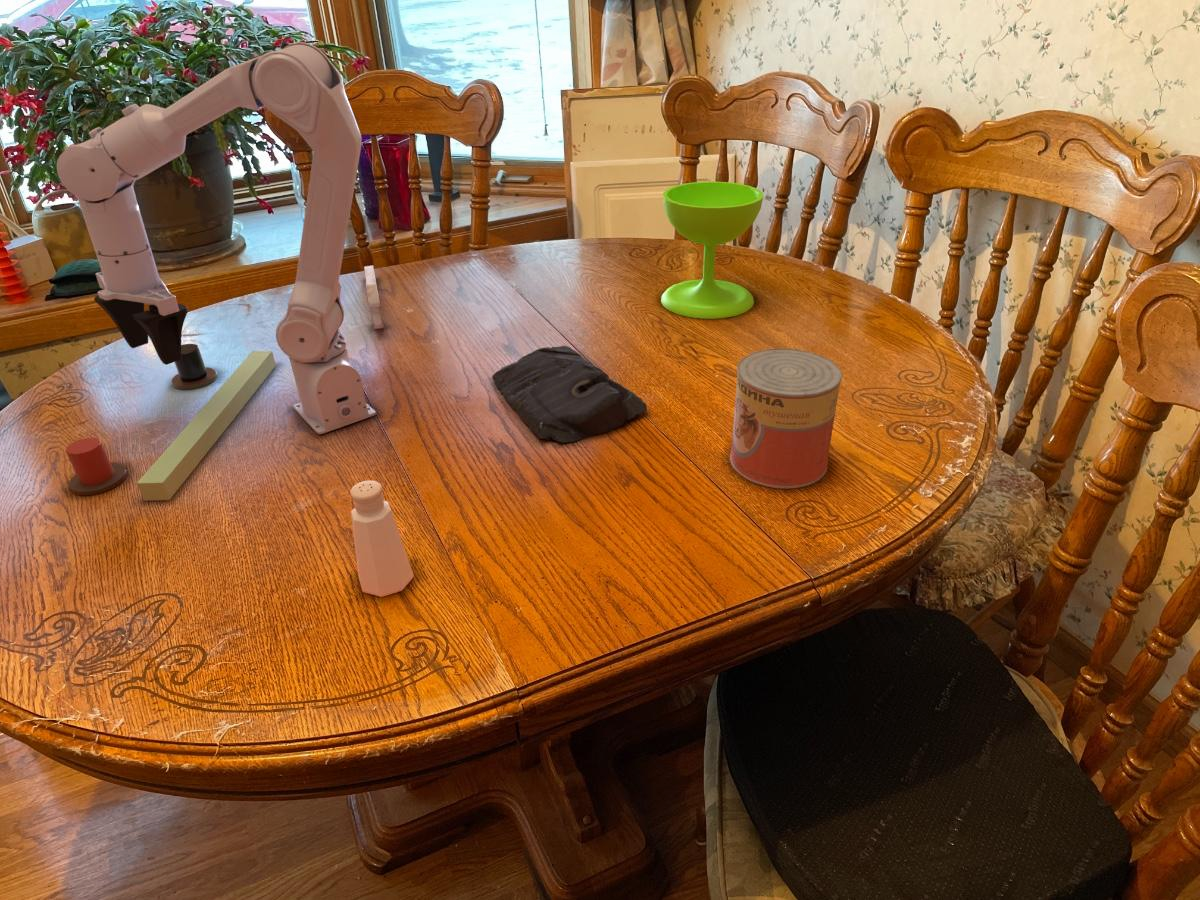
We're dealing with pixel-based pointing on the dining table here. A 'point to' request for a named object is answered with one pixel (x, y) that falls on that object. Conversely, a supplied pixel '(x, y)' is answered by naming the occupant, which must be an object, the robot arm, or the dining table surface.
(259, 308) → the dining table surface
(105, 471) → the red top hat
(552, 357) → the black fabric pouch
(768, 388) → the canned food
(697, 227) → the wineglass
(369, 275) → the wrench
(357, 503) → the pepper shaker
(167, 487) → the bar
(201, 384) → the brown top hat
